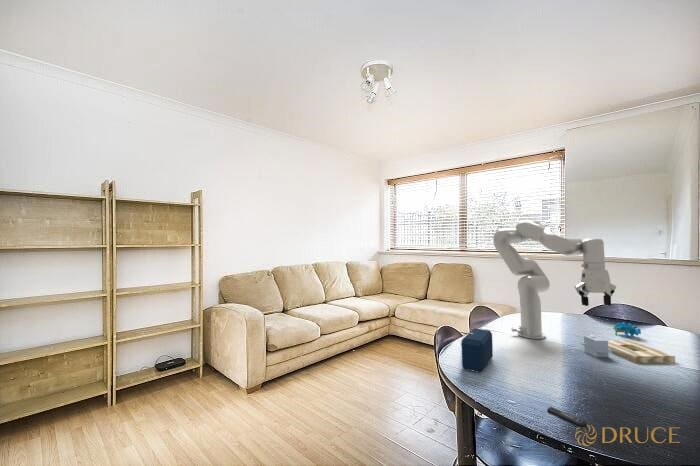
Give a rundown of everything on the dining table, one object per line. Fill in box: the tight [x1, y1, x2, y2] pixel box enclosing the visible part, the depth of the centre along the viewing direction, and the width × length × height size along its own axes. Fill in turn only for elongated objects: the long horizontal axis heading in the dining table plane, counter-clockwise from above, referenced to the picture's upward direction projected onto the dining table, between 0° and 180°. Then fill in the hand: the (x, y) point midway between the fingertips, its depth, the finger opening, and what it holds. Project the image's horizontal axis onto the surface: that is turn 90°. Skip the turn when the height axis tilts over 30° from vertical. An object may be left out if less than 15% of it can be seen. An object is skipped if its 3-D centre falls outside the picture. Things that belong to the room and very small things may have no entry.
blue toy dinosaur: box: [612, 322, 642, 338], centre depth 159 cm, size 11×6×10 cm
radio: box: [461, 327, 494, 373], centre depth 128 cm, size 21×9×20 cm, turn 145°
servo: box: [580, 334, 613, 358], centre depth 136 cm, size 5×11×7 cm, turn 179°
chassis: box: [607, 339, 676, 364], centre depth 135 cm, size 16×20×3 cm
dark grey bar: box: [546, 406, 588, 428], centre depth 88 cm, size 10×3×2 cm, turn 29°
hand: (596, 305), depth 137 cm, fingers open, 9 cm apart
